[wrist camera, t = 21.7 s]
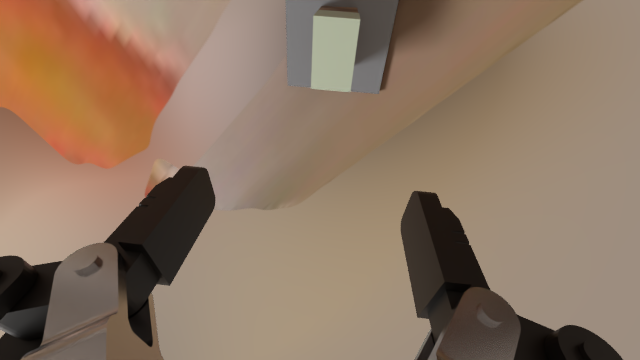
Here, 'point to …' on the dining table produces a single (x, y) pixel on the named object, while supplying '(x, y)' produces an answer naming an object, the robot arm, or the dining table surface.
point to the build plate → (372, 44)
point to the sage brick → (334, 49)
